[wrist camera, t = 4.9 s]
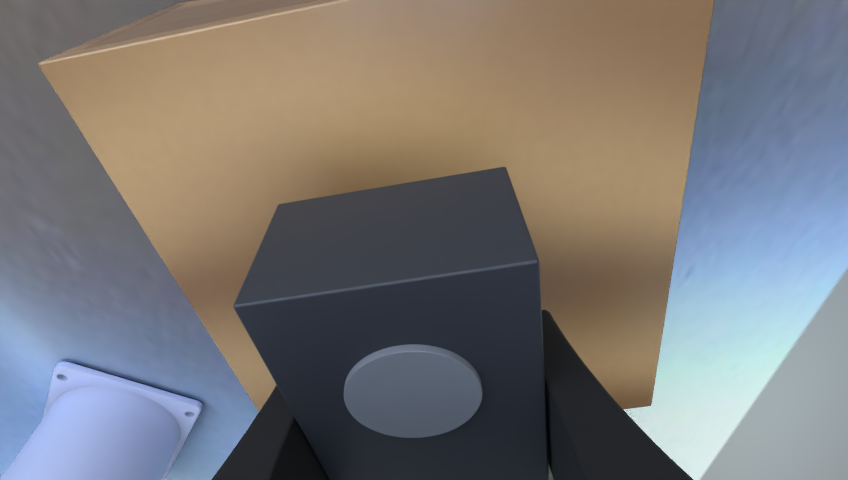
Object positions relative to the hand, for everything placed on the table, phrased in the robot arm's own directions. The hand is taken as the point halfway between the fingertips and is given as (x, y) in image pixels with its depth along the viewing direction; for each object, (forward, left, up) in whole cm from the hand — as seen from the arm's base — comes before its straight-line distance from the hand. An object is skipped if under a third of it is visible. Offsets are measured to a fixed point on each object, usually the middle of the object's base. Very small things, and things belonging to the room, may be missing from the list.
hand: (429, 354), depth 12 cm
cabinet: (0, 0, -10) cm, 10 cm away
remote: (0, 0, 0) cm, 0 cm away
